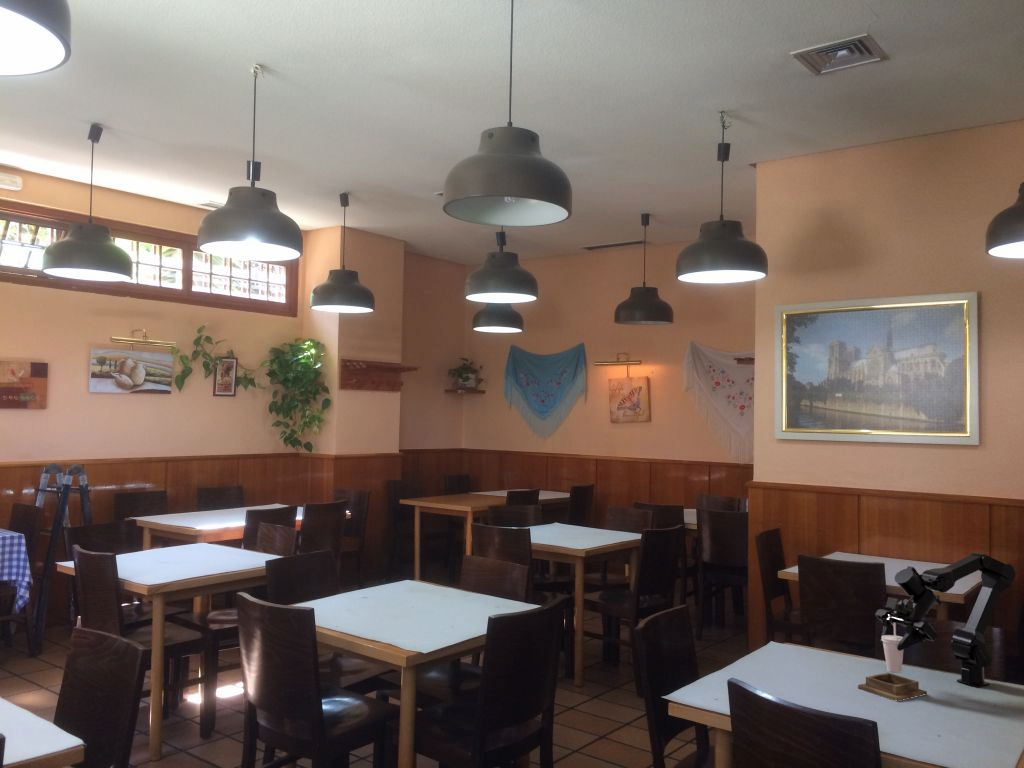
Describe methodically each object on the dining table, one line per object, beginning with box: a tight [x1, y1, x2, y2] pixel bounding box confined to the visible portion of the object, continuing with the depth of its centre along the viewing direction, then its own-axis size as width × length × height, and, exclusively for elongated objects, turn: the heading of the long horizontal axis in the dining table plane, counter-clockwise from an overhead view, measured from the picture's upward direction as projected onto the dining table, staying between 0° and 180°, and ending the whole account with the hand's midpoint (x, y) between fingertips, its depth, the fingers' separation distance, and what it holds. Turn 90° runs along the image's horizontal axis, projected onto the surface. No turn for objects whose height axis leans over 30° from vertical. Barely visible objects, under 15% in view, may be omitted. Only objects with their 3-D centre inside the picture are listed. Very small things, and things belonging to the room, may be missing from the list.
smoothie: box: [880, 623, 905, 674], centre depth 230 cm, size 6×6×14 cm
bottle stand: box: [857, 672, 928, 702], centre depth 230 cm, size 13×13×4 cm
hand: (889, 646), depth 230 cm, fingers closed on smoothie, 6 cm apart
